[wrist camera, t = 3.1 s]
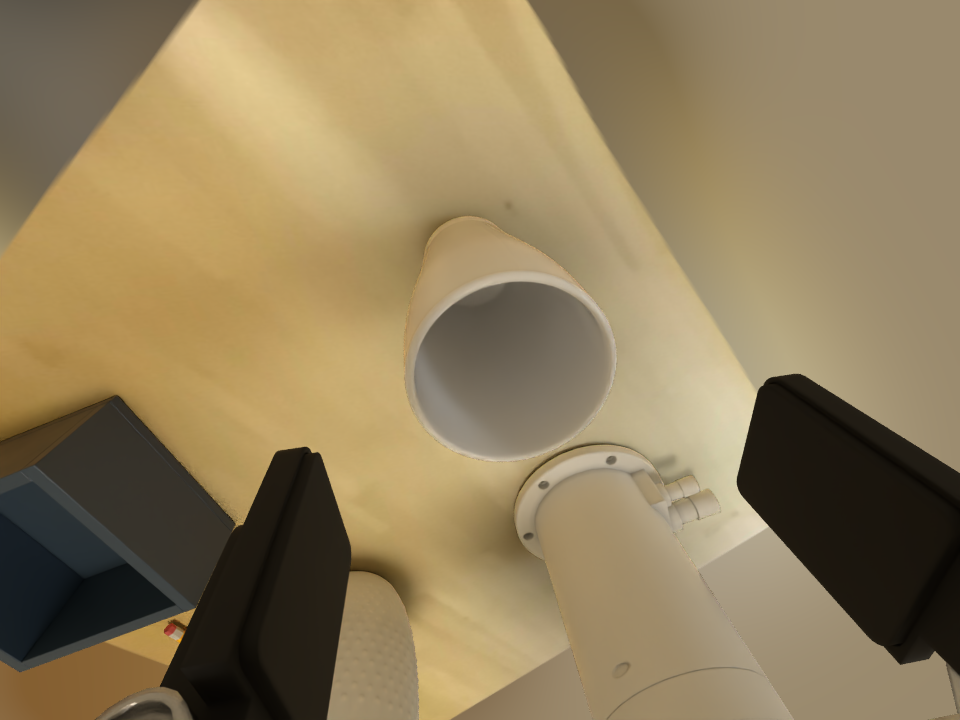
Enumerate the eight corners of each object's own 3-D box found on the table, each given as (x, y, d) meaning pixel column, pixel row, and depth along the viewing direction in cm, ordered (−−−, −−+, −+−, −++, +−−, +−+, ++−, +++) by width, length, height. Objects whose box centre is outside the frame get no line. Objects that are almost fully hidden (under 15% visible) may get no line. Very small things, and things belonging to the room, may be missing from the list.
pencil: (173, 621, 37) (169, 629, 37) (278, 687, 43) (276, 695, 43) (165, 625, 37) (161, 634, 37) (271, 691, 44) (269, 699, 43)
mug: (224, 572, 36) (130, 781, 24) (326, 504, 34) (277, 694, 22) (352, 649, 42) (326, 843, 30) (444, 595, 40) (454, 780, 29)
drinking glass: (469, 174, 25) (527, 215, 11) (544, 260, 27) (661, 375, 14) (387, 259, 26) (352, 382, 13) (465, 332, 29) (504, 497, 16)
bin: (117, 394, 28) (34, 465, 22) (236, 524, 34) (195, 608, 28) (-56, 463, 29) (-183, 550, 23) (90, 579, 34) (19, 672, 28)
